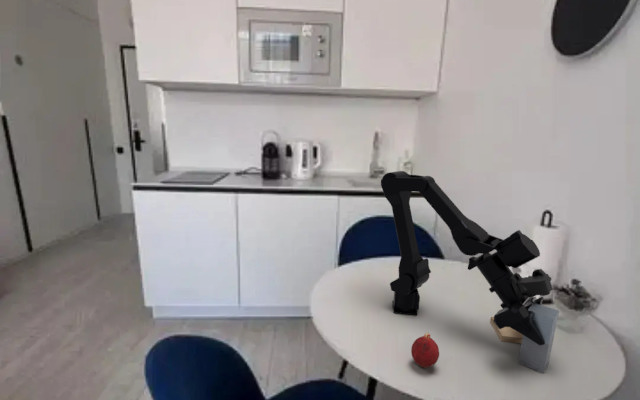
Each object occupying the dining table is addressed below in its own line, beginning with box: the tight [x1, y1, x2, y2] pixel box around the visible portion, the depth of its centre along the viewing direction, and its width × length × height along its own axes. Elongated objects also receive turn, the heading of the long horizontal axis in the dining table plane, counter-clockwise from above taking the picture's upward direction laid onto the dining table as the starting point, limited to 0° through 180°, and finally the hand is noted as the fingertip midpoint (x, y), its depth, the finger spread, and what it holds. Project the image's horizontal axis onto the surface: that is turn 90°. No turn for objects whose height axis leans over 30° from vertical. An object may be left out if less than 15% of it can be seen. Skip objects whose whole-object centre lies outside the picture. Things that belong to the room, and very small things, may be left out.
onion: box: [410, 332, 440, 368], centre depth 80 cm, size 6×6×8 cm
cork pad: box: [489, 316, 523, 344], centre depth 95 cm, size 9×9×2 cm
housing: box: [517, 303, 560, 374], centre depth 82 cm, size 5×5×13 cm
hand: (545, 339), depth 81 cm, fingers closed on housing, 5 cm apart
